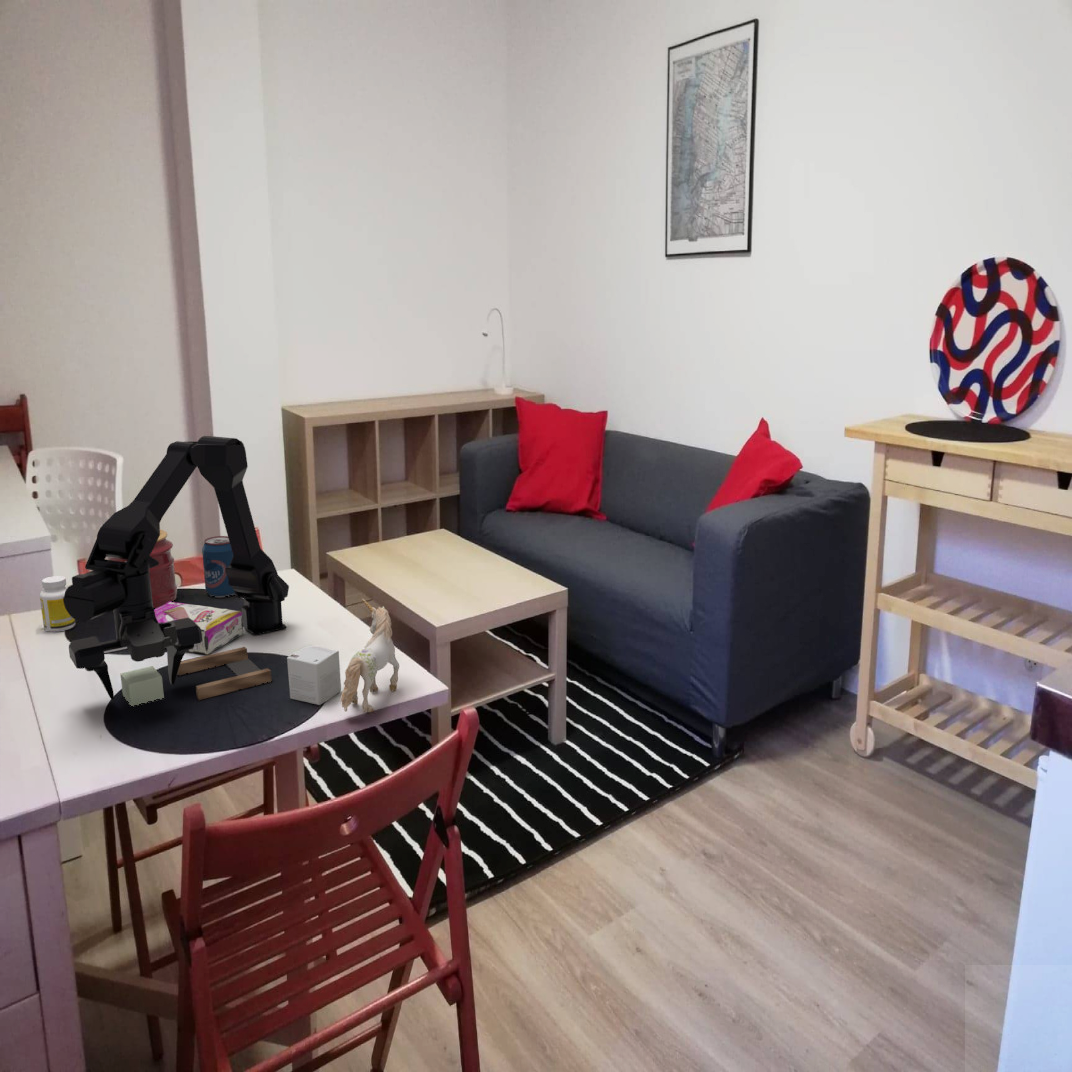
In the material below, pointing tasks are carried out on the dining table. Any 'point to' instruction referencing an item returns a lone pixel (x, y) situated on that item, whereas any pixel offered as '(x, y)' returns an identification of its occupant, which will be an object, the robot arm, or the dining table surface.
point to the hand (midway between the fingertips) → (142, 691)
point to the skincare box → (314, 674)
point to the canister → (161, 572)
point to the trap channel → (241, 667)
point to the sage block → (142, 685)
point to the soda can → (217, 565)
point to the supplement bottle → (55, 605)
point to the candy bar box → (205, 623)
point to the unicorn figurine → (371, 661)
